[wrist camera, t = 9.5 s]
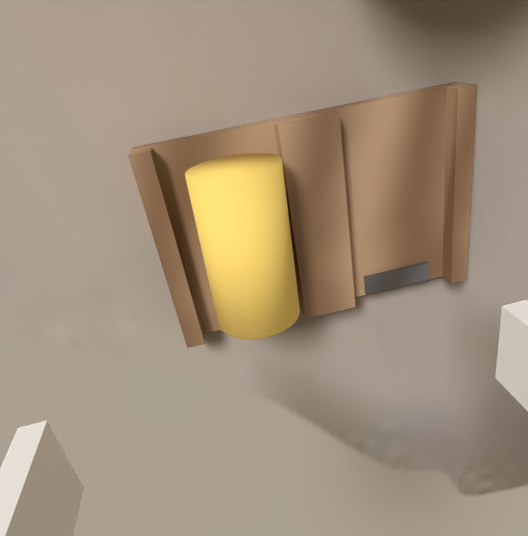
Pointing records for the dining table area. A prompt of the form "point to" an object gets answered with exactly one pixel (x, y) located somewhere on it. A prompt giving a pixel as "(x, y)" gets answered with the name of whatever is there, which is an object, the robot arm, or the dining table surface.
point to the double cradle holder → (332, 198)
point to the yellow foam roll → (246, 242)
